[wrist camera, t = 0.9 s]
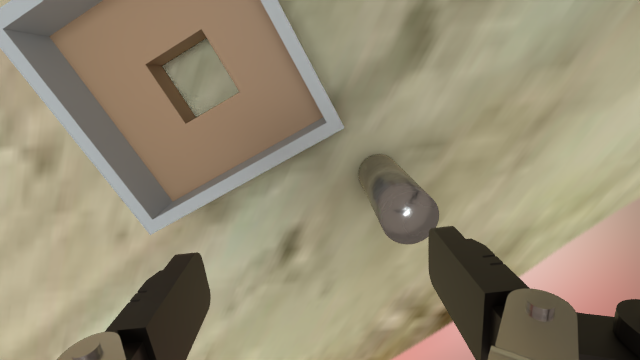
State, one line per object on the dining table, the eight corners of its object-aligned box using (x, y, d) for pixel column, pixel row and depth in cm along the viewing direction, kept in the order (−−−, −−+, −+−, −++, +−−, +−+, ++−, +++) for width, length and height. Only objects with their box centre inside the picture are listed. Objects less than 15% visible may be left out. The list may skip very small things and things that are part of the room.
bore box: (232, -81, 26) (205, -137, 19) (337, 117, 31) (344, 127, 24) (58, 35, 28) (-21, 22, 21) (182, 203, 33) (150, 234, 26)
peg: (387, 147, 32) (425, 180, 21) (403, 180, 33) (447, 228, 22) (351, 166, 32) (371, 208, 22) (369, 198, 33) (395, 253, 23)
